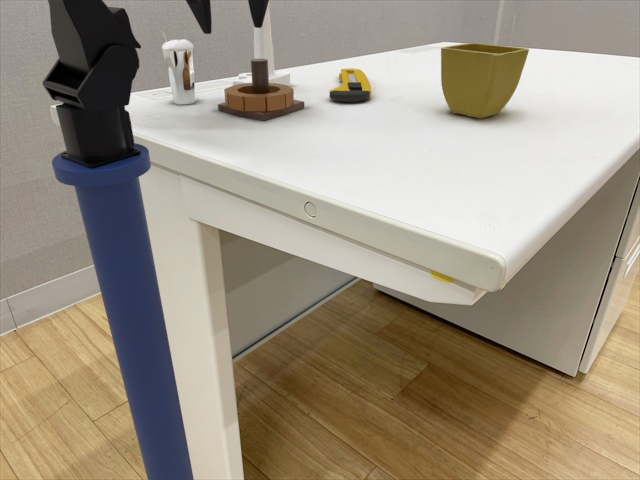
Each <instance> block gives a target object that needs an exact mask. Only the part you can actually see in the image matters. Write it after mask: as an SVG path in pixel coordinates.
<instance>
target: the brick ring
mask: <svg viewBox="0 0 640 480" xmlns="http://www.w3.org/2000/svg"><path fill="white" fill-rule="evenodd" d="M294 97H295V96H294V88H292V87H291V85H290V86H288V85H283V84H277V83H269V93H268V94H253V89H252V83H247V84H239V85H233V84H232V85H230V86H228V87H226V88H224V102H225V103H226V105H227V107H228V108H230V109H235V110H240V111H252V112H265V111H273V110H279V109H285V108H287V107H289V106H291V105H292V104H294V100H295V99H294Z"/></svg>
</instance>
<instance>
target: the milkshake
mask: <svg viewBox="0 0 640 480" xmlns="http://www.w3.org/2000/svg"><path fill="white" fill-rule="evenodd" d="M160 33H161V36H162V38H163V41H164V43H162V46H161V51H162V55H163V60H164V64H165V67H166V70H167V76H168V80H169V83H170V84H169V86H170V90H171V95H172V100H173V103H174V104H175V105H178V106H179V105H181V106H182V105H192V104H194V103H196V90H195V89H196V88H195V87H196V86H195V54H194V52H195V51H194V49H195V48H194V47H195V46H194V44H193V43H192V42H191V41H190V40H188V39H185V38H181V39H171V40H169V41H168V39H167V37H166V34H165V32H164V31H160Z"/></svg>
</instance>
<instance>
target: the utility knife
mask: <svg viewBox="0 0 640 480" xmlns="http://www.w3.org/2000/svg"><path fill="white" fill-rule="evenodd" d="M338 80H339V81H341V85H340V86H337V87H334V88H333V89H330V90H329V91H328V93H329V98H330V99H331V100H333V101H338V102H351V103H352V102H361V101H366V100H367V99H369V98H371V96H372V87H371V84H370V81H369V79H368V77H367V75H366V74H365V72H364V71H363V70H362V69H359V68H341V69H340V72H339V74H338Z"/></svg>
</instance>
